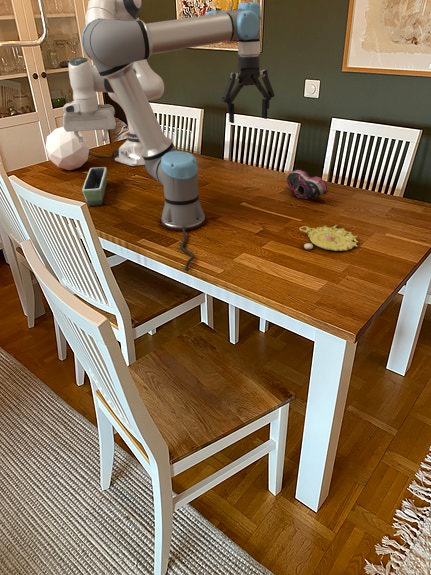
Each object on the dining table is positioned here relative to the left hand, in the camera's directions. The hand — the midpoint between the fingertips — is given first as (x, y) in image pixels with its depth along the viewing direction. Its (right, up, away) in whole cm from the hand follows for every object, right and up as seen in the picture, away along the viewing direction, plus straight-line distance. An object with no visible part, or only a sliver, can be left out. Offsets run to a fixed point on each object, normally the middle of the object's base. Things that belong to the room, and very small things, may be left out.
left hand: (93, 141), depth 179 cm
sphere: (-19, -2, +33) cm, 38 cm away
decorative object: (+86, -44, -38) cm, 104 cm away
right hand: (+62, +2, -16) cm, 64 cm away
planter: (+1, -21, +2) cm, 21 cm away
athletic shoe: (+84, -23, -5) cm, 87 cm away
